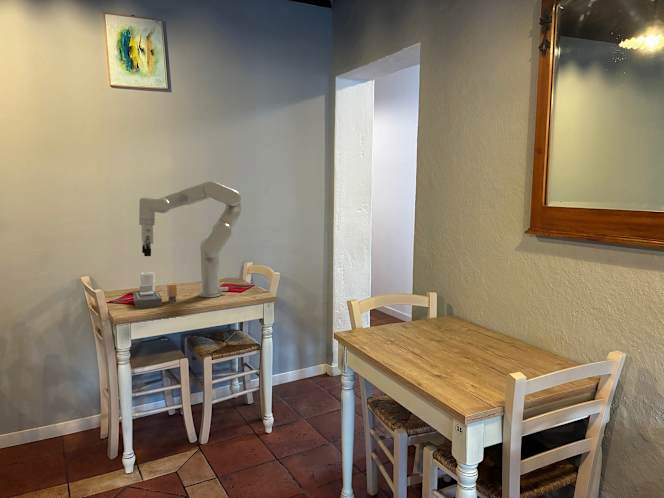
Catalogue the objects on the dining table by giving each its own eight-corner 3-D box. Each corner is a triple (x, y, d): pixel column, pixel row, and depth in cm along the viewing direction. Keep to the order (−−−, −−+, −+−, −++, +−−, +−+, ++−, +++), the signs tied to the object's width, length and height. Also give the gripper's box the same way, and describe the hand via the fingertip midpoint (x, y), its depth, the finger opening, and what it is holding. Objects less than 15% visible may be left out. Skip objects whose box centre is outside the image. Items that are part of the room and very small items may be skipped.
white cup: (158, 289, 274) (157, 272, 272) (151, 292, 266) (151, 274, 264) (145, 288, 274) (144, 271, 273) (138, 291, 267) (137, 274, 265)
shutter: (152, 291, 250) (152, 284, 250) (154, 294, 245) (153, 287, 244) (139, 292, 248) (139, 285, 247) (140, 295, 242) (140, 288, 241)
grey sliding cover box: (158, 298, 254) (157, 290, 253) (161, 306, 240) (161, 297, 239) (133, 300, 249) (133, 291, 248) (136, 308, 234) (135, 299, 234)
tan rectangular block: (175, 299, 252) (175, 283, 251) (176, 301, 248) (176, 284, 247) (167, 300, 250) (167, 283, 249) (168, 302, 247) (168, 285, 245)
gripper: (156, 223, 242) (156, 257, 244) (152, 220, 257) (152, 251, 259) (140, 223, 238) (140, 257, 241) (137, 220, 254) (137, 252, 256)
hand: (146, 254), depth 250 cm, fingers open, 9 cm apart
